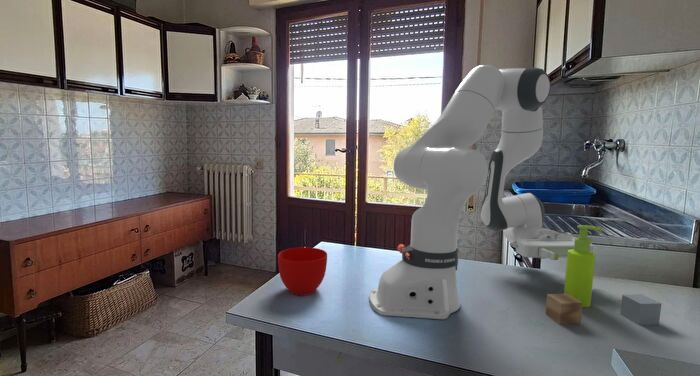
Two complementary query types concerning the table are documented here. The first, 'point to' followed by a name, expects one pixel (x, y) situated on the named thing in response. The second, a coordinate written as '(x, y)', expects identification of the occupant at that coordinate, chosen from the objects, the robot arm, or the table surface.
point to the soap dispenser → (580, 267)
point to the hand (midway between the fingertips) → (572, 256)
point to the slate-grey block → (640, 309)
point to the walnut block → (563, 309)
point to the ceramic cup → (302, 269)
